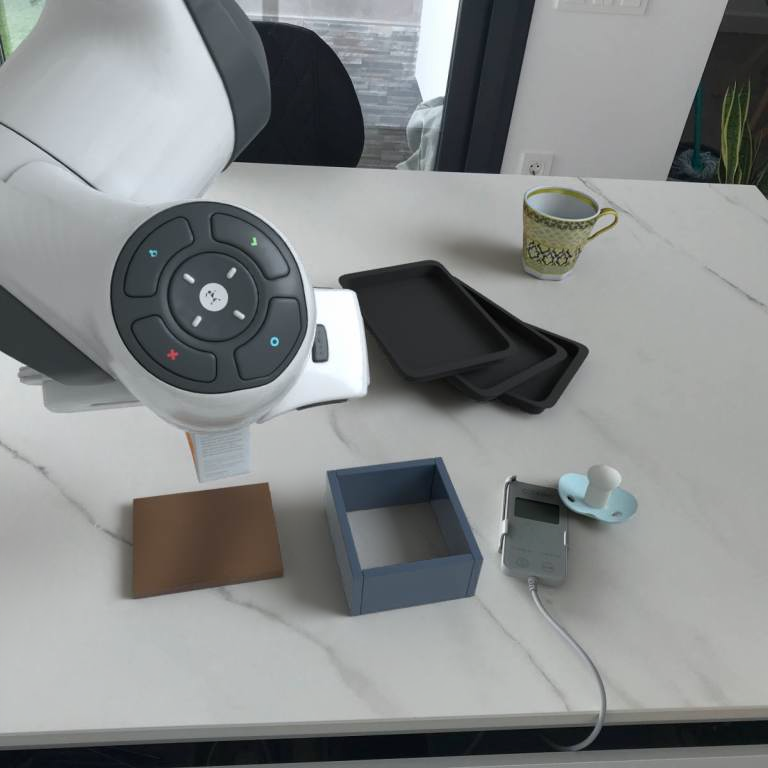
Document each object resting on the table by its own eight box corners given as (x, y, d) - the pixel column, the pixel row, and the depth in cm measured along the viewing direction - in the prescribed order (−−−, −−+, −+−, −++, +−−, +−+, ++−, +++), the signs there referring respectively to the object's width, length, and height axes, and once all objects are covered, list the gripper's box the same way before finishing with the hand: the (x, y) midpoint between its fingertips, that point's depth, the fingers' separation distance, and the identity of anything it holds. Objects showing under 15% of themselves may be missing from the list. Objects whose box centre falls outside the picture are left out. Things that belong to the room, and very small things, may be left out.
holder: (350, 616, 62) (353, 579, 59) (324, 508, 71) (326, 470, 68) (474, 596, 65) (484, 559, 62) (435, 493, 73) (441, 456, 70)
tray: (593, 337, 95) (603, 301, 92) (557, 460, 78) (569, 422, 75) (366, 276, 102) (368, 241, 98) (287, 378, 85) (287, 339, 81)
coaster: (134, 599, 62) (132, 592, 61) (134, 505, 69) (132, 498, 69) (283, 577, 65) (283, 569, 64) (268, 489, 72) (268, 481, 71)
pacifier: (562, 471, 77) (549, 512, 72) (577, 424, 73) (564, 463, 69) (636, 496, 75) (627, 539, 71) (655, 449, 71) (647, 491, 67)
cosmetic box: (183, 432, 62) (167, 307, 54) (236, 422, 63) (228, 299, 55) (197, 486, 57) (182, 359, 50) (254, 474, 59) (247, 348, 51)
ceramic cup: (516, 286, 103) (531, 218, 96) (505, 248, 110) (518, 182, 104) (611, 290, 104) (632, 223, 97) (593, 252, 111) (612, 188, 105)
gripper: (13, 432, 40) (62, 438, 54) (394, 394, 45) (351, 409, 58) (4, 312, 41) (55, 348, 54) (382, 287, 45) (342, 326, 59)
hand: (211, 379), depth 56 cm, fingers closed on cosmetic box, 4 cm apart
